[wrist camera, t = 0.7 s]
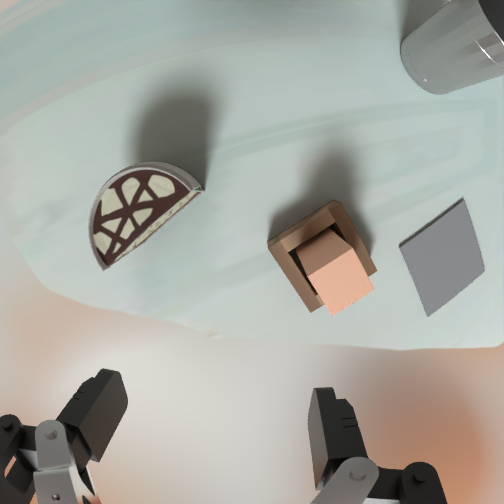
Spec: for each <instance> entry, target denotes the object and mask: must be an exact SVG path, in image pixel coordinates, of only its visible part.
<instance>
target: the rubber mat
mask: <svg viewBox="0 0 504 504" xmlns="http://www.w3.org/2000/svg"><path fill="white" fill-rule="evenodd" d="M399 248H400V251H401V253H402V255H403V257H404V260H405V262H406V264H407V266H408V269H409V271H410V274H411V276H412V278H413V281H414V283H415V286H416V288H417V291H418V293H419V296H420V298H421V301H422V304H423V306H424V309H425V312H426V315H427V316H428V317H429V316H430V315H431V314H433V313H434V312H435V311H437V310H438V309H439V308H441V307H442V306H443V305H445V304H446V303H447V302H448V301H450V300H451V299H452V298H454V297H455V296H456V295H457V294H458V293H460V292H461V291H462V290H463V289H465V288H466V287H467V286H468V285H469V284H470V283H472V282H473V281H474V280H475V279H476V278H477V277H479V276H480V275H481V274H482V273H483V272H484V271H485V269H484V264H483V260H482V256H481V253H480V249H479V245H478V242H477V238H476V235H475V231H474V228H473V225H472V222H471V219H470V216H469V213H468V210H467V207H466V204H465V201H464V200H462V201H460V202H459V203H458V204H457V205H455V206H454V207H453V208H451V209H450V210H449V211H447V212H446V213H445V214H444V215H442V216H441V217H440V218H438V219H437V220H436V221H434V222H433V223H432V224H430V225H429V226H427V227H426V228H425V229H423V230H422V231H421V232H419V233H418V234H416V235H415V236H414V237H412V238H411V239H409V240H408V241H407V242H405V243H404V244H402V245H401V246H399Z"/></svg>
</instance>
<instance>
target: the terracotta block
mask: <svg viewBox="0 0 504 504" xmlns="http://www.w3.org/2000/svg"><path fill="white" fill-rule="evenodd" d="M295 250H296V252H297V254H298V257H299V259H300V261H301V263H302V266H303V268H304V270H305V272H306V275H307V277H308V278H309V280H310V282H311V283H312V285H313V286H314V288H315V289H316V291H317V293H318V294H319V296H320V297H321V299H322V301H323V302H324V304H325V306H326V307H327V309H328V310H329V312H330V314H331V315H332V316H333V315H334V314H336V313H338V312H339V311H341V310H343V309H344V308H346V307H348V306H349V305H351V304H352V303H354V302H355V301H357V300H359V299H360V298H362V297H363V296H365V295H366V294H368V293H369V292H371V291H373V290H374V287H373V285H372V283H371V281H370V279H369V278H368V276H367V274H366V272H365V270H364V268H363V266H362V264H361V262H360V260H359V259H358V257H357V255H356V253H355V251H354V249H353V248H352V247H351V246H350V245H349V244H348V243H346V242H345V241H344V240H343V239H342V238H340V237H339V236H338V235H337V234H335V233H334V232H333V231H332V230H331V229H329V228H328V227H327V228H325V229H324V230H322V231H321V232H319V233H318V234H316V235H314V236H313V237H311V238H310V239H308V240H307V241H305V242H303V243H302V244H300V245H299V246H297V247H295Z"/></svg>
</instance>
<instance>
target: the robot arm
mask: <svg viewBox="0 0 504 504" xmlns="http://www.w3.org/2000/svg"><path fill="white" fill-rule="evenodd" d="M401 57H402V61H403V64H404V66H405V68H406V70H407V72H408V73H409V75H410V76H411V77H412V79H413V80H414V81H415V82H416V83H417V84H418V85H419V86H421V87H422V88H423V89H425V90H427V91H429V92H431V93H434V94H446V93H449V92H452V91H455V90H458V89H461V88H464V87H467V86H470V85H473V84H476V83H479V82H482V81H486V80H489V79H492V78H495V77H499V76H502V75H504V0H452V1H450V2H449V3H448V4H447V5H445V6H444V7H443V8H441V9H440V10H439V11H438V12H436V13H435V14H434V15H433V16H431V17H430V18H429V19H428V20H426V21H425V22H424V23H423V24H421V25H420V26H419V27H418V28H416V29H415V30H414V31H413V32H412V33H411V34H409V35H408V36H407V37H406V38H405V39H404V40H403V42H402V45H401ZM127 405H128V398H127V394H126V391H125V388H124V384H123V381H122V377H121V374H120V373H119V372H118V371H113V370H109V369H101V370H100V371H99V373H98V374H97V375H96V377H95V378H93V377H91V378H90V379H88V380H87V381H85V382H84V383H82V385H81V386H80V387H79V389H78V390H77V392H76V393H75V394H74V395H73V398H71V399H70V401H69V402H68V403H67V405H66V406H65V408H64V409H63V410H62V412H61V413H60V415H59V416H58V417H57V419H56V420H46V421H44V422H42V423H40V424H39V425H38V426H37V427H34V426H27V425H22V423H21V422H20V420H19V419H18V418H17V417H16V416H15V415H11V414H9V415H4V416H2V417H0V504H30V501H31V500H32V497H33V495H34V493H35V491H36V494H37V500H38V504H102V503H101V502H100V499H99V497H98V494H97V491H96V488H95V485H94V483H93V480H92V476H91V473H90V470H89V467H88V465H87V463H88V461H89V460H93V461H96V462H99V461H100V460H101V458H102V456H103V454H104V452H105V450H106V448H107V446H108V444H109V442H110V440H111V438H112V436H113V434H114V432H115V430H116V428H117V426H118V424H119V423H120V421H121V419H122V417H123V415H124V413H125V411H126V408H127ZM308 430H309V437H310V445H311V453H312V461H313V471H314V479H315V488H316V490H321V492H320V493H319V494H318V495H317V496H316V498H315V499H314V500H313V501H312V502H311V503H310V504H447V501H446V498H445V494H444V492H443V488H442V486H441V482H440V479H439V477H438V474H437V471H436V470H435V468H434V467H433V466H432V465H430V464H428V463H425V462H415V463H412V464H410V465H408V466H407V467H406V468H405V469H404V470H396V469H386V468H381V467H379V466H377V465H376V464H375V463H374V462H373V461H372V460H370V459H369V458H368V456H367V453H366V449H365V446H364V442H363V439H362V436H361V432H360V429H359V427H358V422H357V419H356V416H355V413H354V409H353V407H352V406H351V405H350V404H349V403H348V401H347V400H346V399H336V396H335V393H334V389H333V388H332V387H327V388H314V389H313V393H312V398H311V403H310V408H309V413H308ZM13 456H14V457H15V458H16V461H15V463H14V464H13V466H12V468H11V469H10V471H9V473H8V474H7V476H6V478H5V476H4V472H5V469H6V467H7V465H8V463H9V462H10V460H11V459H12V457H13Z"/></svg>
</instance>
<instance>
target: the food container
mask: <svg viewBox="0 0 504 504" xmlns="http://www.w3.org/2000/svg"><path fill="white" fill-rule="evenodd" d="M200 186H201V185H200V184H199V183H198V182H197V181H196V180H195V178H193V177H192V176H191V175H190V174H188V173H187V172H186V171H184V170H182V169H180V168H178V167H176V166H174V165H171V164H168V163H163V162H156V161H152V162H142V163H137V164H134V165H132V166H129V167H127V168H125V169H123V170H121V171H120V172H118V173H117V174H115V175H114V176H112V177H111V178H110V179H109V180H108V181H107V182H106V183H105V184H104V186H103V187H102V188H101V189H100V191H99V193H98V195H97V196H96V198H95V200H94V202H93V205H92V208H91V212H90V216H89V226H88V230H89V240H90V245H91V248H92V251H93V254H94V256H95V258H96V260H97V262H98V264H99V266H100V267H101V269H102V270H103V271H104V270H106V269H108V268H110V266H111V265H113V264H114V263H115V262H117V261H118V260H120V259H121V258H122V257H124V256H125V255H127V254H128V253H130V252H131V251H132V250H134V249H135V248H137V247H138V246H140V245H141V244H143V243H144V242H146V241H147V240H148V239H149V238H150V237H151V236H153V235H154V234H155V233H156V232H157V231H158V230H159V229H160V228H162V227H163V226H164V225H165V224H166V223H167V222H168V221H170V220H171V219H172V218H173V217H174V216H175V215H177V214H178V213H179V212H180V211H181V210H182V209H184V208H185V207H186V206H187V205H188V204H190V203H191V202H192V201H193V200H194V199H196V198H197V197H198V196H199V195H200V194H202V193H203V192H204V190H203V189H202V188H201V187H200Z"/></svg>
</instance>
